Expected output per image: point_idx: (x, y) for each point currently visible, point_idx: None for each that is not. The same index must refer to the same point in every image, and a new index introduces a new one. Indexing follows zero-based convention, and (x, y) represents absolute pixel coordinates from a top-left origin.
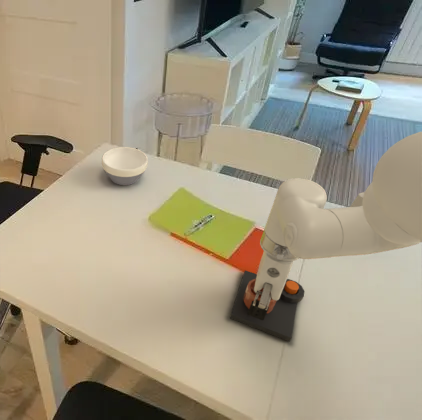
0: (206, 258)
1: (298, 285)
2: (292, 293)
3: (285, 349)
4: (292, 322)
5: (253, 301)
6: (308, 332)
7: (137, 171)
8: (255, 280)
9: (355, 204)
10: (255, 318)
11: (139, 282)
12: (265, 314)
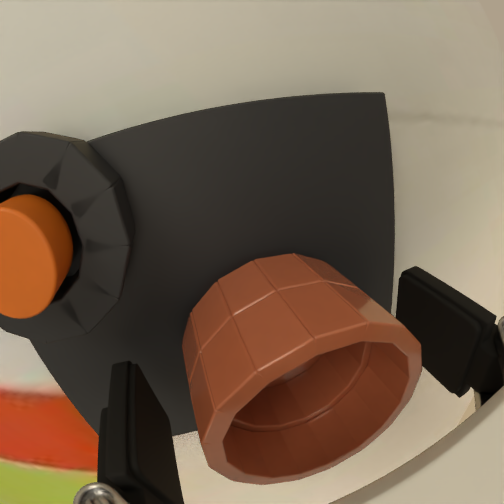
0: None
1: None
2: (57, 215)
3: (401, 106)
4: (285, 107)
5: (464, 391)
6: (242, 19)
7: None
8: (267, 477)
9: None
10: (368, 288)
11: (348, 485)
12: (452, 289)
